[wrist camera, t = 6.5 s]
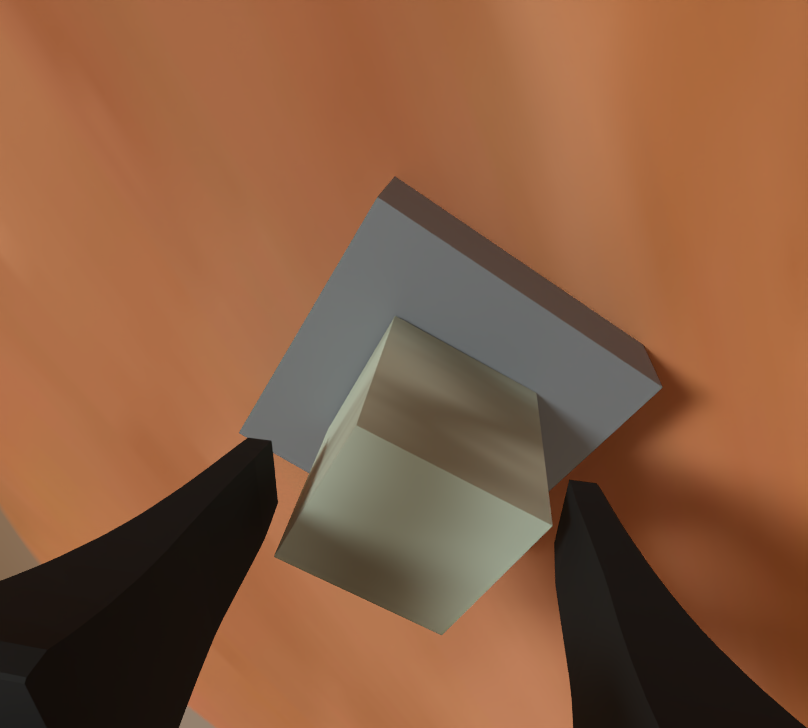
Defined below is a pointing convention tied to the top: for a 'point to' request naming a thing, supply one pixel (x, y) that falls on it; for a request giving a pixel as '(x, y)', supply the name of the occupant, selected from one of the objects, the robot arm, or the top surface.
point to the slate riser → (453, 334)
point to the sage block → (423, 482)
